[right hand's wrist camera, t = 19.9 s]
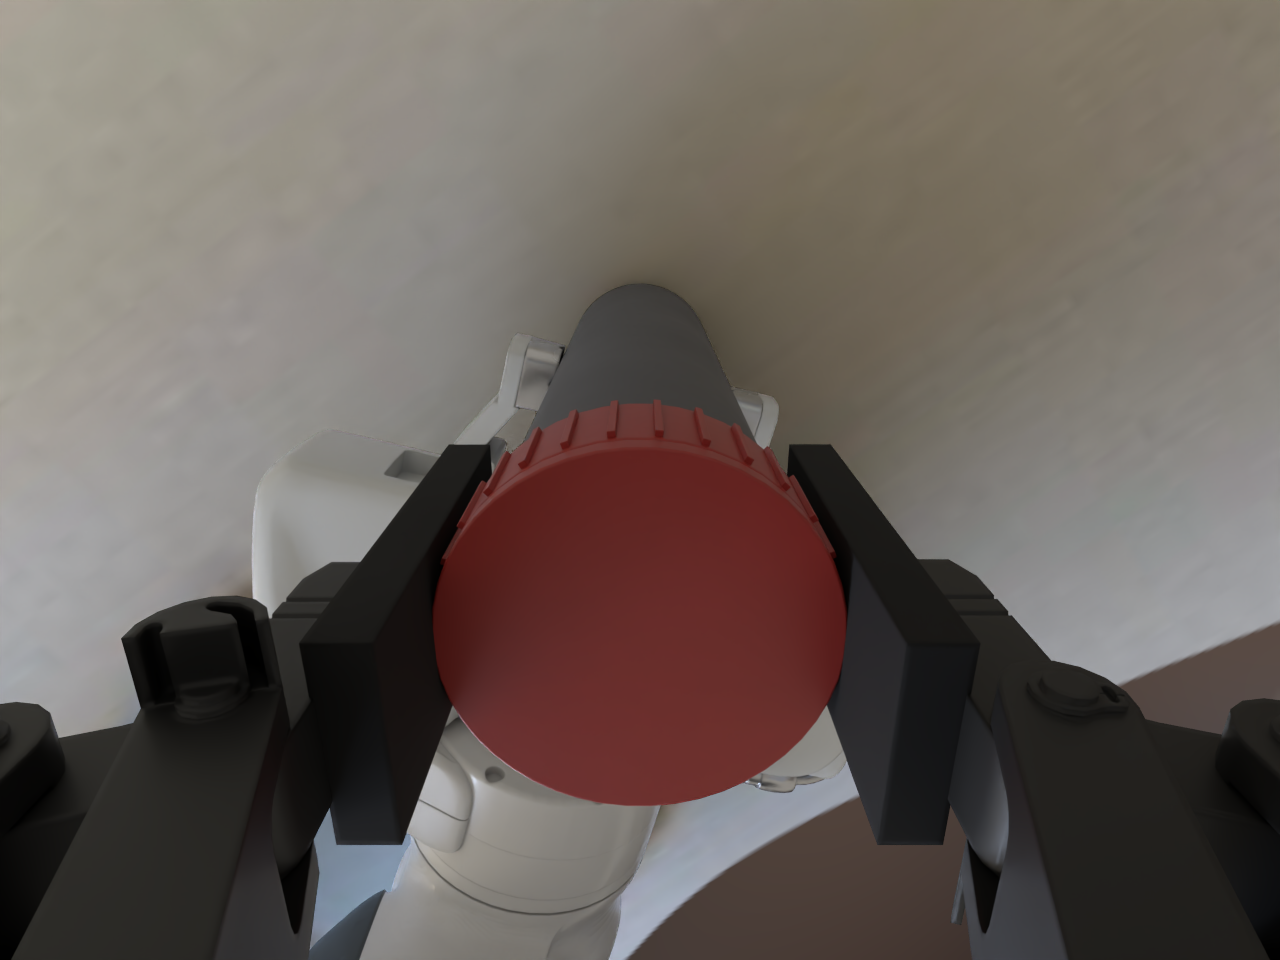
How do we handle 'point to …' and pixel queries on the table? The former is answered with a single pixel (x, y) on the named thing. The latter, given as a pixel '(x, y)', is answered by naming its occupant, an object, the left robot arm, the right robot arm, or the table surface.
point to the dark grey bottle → (640, 360)
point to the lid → (639, 608)
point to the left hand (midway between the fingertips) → (645, 368)
